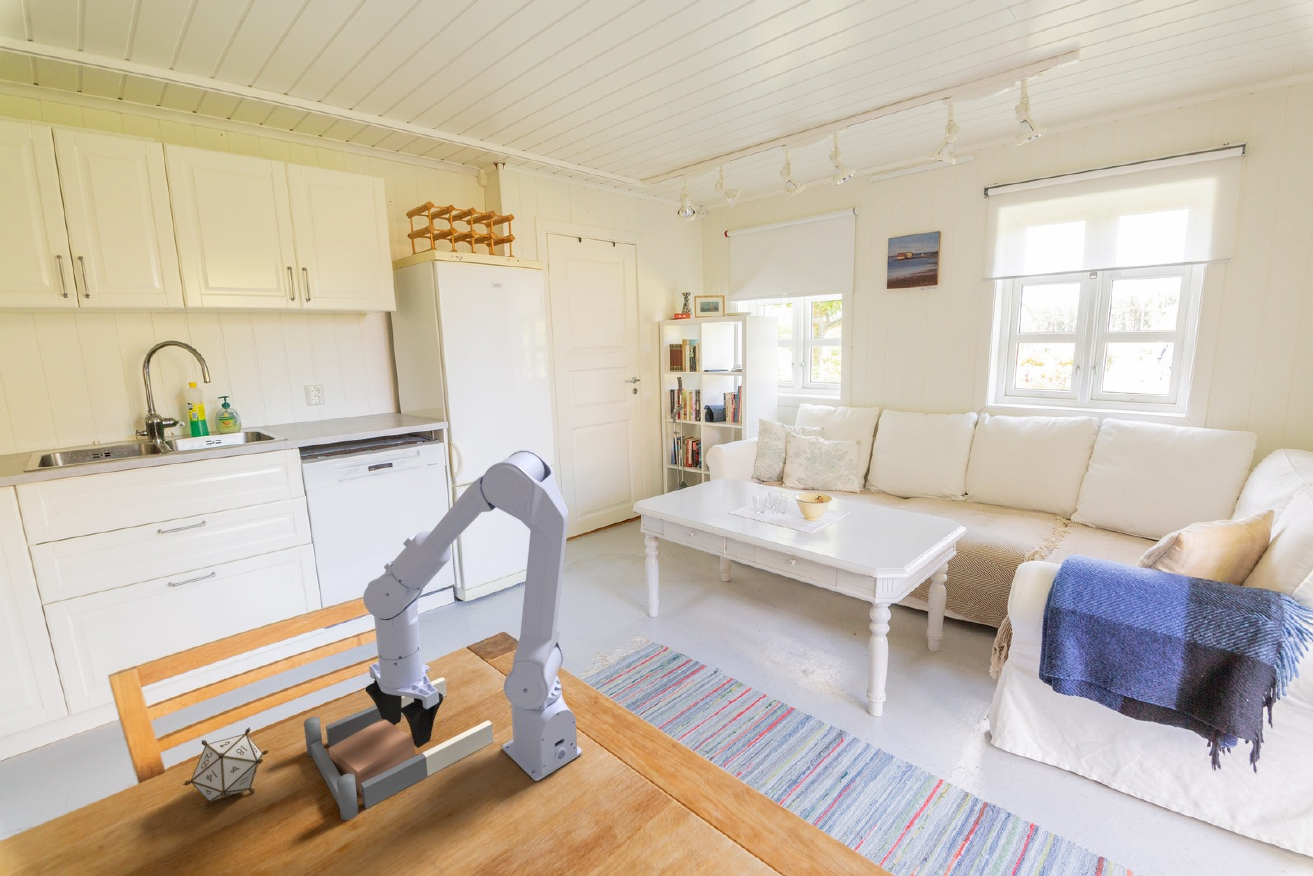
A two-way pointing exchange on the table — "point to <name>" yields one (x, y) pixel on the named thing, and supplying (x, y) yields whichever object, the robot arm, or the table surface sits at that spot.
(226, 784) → the game die
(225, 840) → the table surface
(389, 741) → the sliding block
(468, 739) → the lane walls
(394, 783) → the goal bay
